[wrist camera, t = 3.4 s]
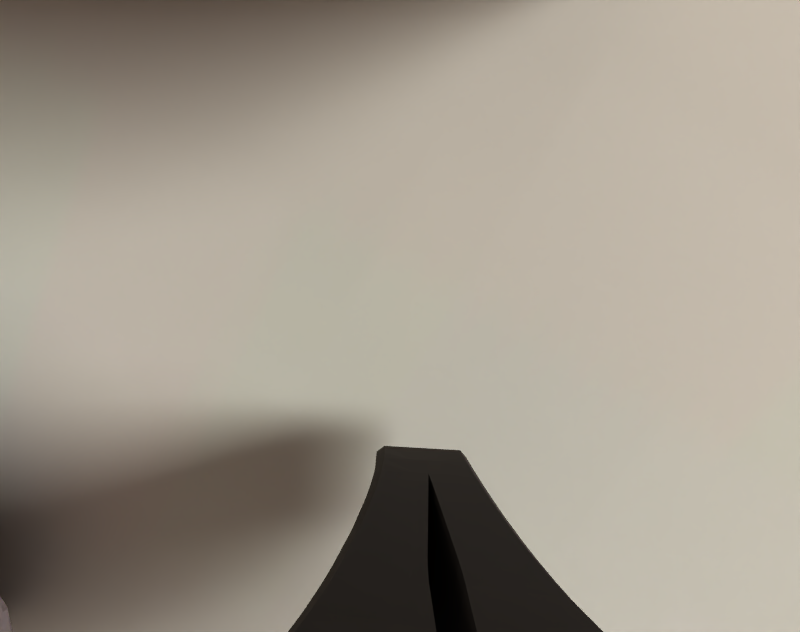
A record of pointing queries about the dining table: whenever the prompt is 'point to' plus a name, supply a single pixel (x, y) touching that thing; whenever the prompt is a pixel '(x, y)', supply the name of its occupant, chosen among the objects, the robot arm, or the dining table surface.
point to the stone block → (4, 618)
